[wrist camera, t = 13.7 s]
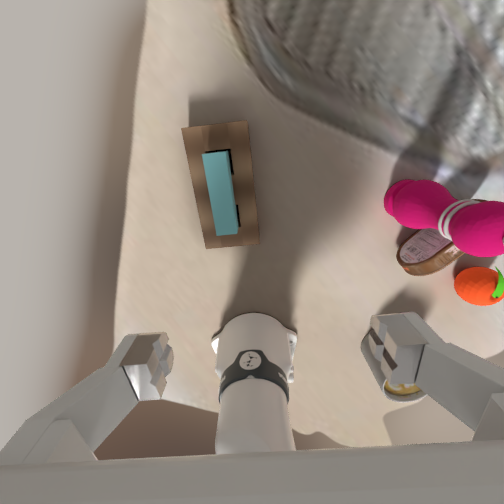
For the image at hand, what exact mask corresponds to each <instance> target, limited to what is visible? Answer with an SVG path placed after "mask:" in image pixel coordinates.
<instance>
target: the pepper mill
mask: <svg viewBox="0 0 504 504" xmlns="http://www.w3.org/2000/svg"><path fill="white" fill-rule="evenodd" d="M384 207H385V210H386V211H387V213H388V214H390V215H392V216H393V217H395V219H396V220H397V221H398V222H399V223H400V224H402V225H403V226H406V227H408V228H413V229H426V228H434V229H437V230H439V232H440V234H441V235H442V236H443V237H445V238H447V239H449V240H451V241H453V243H454V244H455V246H456V247H457V248H458V249H460V250H461V251H463V252H465V253H467V254H470V255H473V256H477V257H493V256H498V255H501V254H504V202H499V201H486V202H479V201H475V200H471V199H464V200H460V201H459V200H457V199H455V198H453V197H452V196H451V194H450V193H449V191H448V190H447V189H446V188H445V187H444V186H442V185H441V184H439V183H437V182H434V181H431V180H418V181H415V180H409V179H408V180H402V181H399V182H397V183H396V184H394V185H393V186H392V187H391V188H390V189H389V190H388V191H387V193H386V195H385V198H384Z"/></svg>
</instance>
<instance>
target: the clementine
mask: <svg viewBox="0 0 504 504" xmlns="http://www.w3.org/2000/svg"><path fill="white" fill-rule="evenodd" d="M495 268H496V267H495ZM496 269H497V268H496ZM497 271H498V272H496V271H494V270H492V269H489V268H486V267H471V268H467V269H465V270H463V271H461V272H460V273H459V274H458V275H457V276H456V278H455V281H454V288H455V290H456V292H457V294H458V295H459V296H460V297H461V298H462V299H463V300H465V301H467V302H469V303H471V304H475V305H480V306H486V305H492V304H495V303H497V302H499V301H500V300H502V299H503V298H504V278H503V276H502V274H501V272H500V271H499V270H498V269H497Z"/></svg>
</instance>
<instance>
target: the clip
mask: <svg viewBox="0 0 504 504" xmlns="http://www.w3.org/2000/svg"><path fill="white" fill-rule="evenodd" d="M202 158H203V164H204V169H205V175H206V180H207V186H208V191H209V196H210V202H211V207H212V213H213V218H214V224H215V229H216V235H217V236H221V235H230V234H237V232H238V220H237V217H238V215H237V208H236V205H235V199H234V192H233V185H232V177H231V170H230V168H231V165H230V158H229V153H228V151H222V152H214V153H206V154H202Z"/></svg>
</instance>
